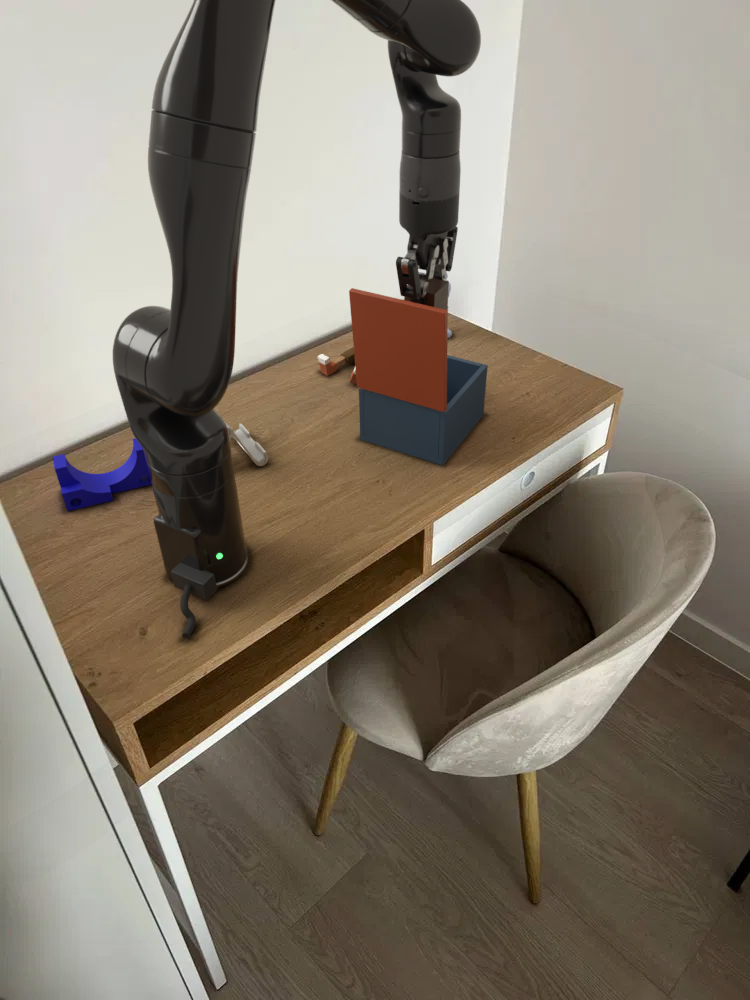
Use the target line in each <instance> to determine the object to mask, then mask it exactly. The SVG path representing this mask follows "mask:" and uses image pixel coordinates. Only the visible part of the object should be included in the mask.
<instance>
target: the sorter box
mask: <svg viewBox="0 0 750 1000" xmlns="http://www.w3.org/2000/svg"><path fill="white" fill-rule="evenodd" d="M488 367H489V365H488V364H485V363H480V362H477V361H473V360H470V359H465V358H461V357H457V356H452V355H449V354H447V410H446V411H445V412H442V411H439V410H435V409H432V408H428V407H425V406H421V405H418V404H414V403H411V402H407V401H404V400H400V399H397V398H393V397H389V396H386V395H382V394H379V393H375V392H372V391H368V390H365V389H361V388H358V411H359V412H358V413H359V440H360V441H364V442H366V443H369V444H373V445H376V446H380V447H383V448H386V449H389V450H392V451H395V452H399V453H402V454H405V455H408V456H412V457H415V458H418V459H421V460H425V461H427V462H431V463H434V464H437V465H440V466H444V465H445V464H446V463H447V461H449V459H450V457H451V456H452V455H453V454H454V452H455V451H456V450H457V449H458V447H459V446H460V445H461V443H463V441H464V440H465V439H466V438H467V436H468V435H469V434H470V433H471V431H472V430H473V429H474V427H476V425H477V424H478V423H479V422H480V421H481V419H482V418H483V416H484V412H485V403H486V401H485V400H486V390H487V389H486V388H487V379H488Z"/></svg>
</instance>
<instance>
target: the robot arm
mask: <svg viewBox="0 0 750 1000" xmlns="http://www.w3.org/2000/svg"><path fill="white" fill-rule="evenodd" d="M276 1H277V0H193V1H192V4H191V7H190V8H189V11H188V13H187V15H186V17H185V19H184V21H183V23H182V25H181V27H180V29H179V31H178V33H177V34H176V36H175V39H174V41H173V42H172V44H171V47H170V48H169V50H168V53H167V55H166V57H165V58H164V60H163V63H162V66H161V68H160V70H159V73H158V76H157V78H156V83H155V85H154V90H153V95H152V96H153V97H152V102H151V109H152V110H151V111H150V123H149V134H148V135H149V136H148V137H149V138H148V147H147V172H148V179H149V183H150V185H149V186H150V189H151V193H152V197H153V201H154V205H155V208H156V211H157V215H158V218H159V222H160V225H161V228H162V232H163V235H164V238H165V242H166V246H167V250H168V254H169V260H170V265H171V277H172V278H171V279H172V280H171V281H172V282H171V298H170V308H167V307H164V306H161V305H146V306H142V307H140V308H137V309H136V310H134V311H132V312H131V313H129V314H128V315H127V316H126V317H125V318H124V319H123V320H122V322H121V323H120V325H119V327H118V329H117V330H116V333H115V336H114V339H113V345H112V366H113V372H114V378H115V381H116V385H117V387H118V392H119V394H120V398H121V401H122V405H123V409H124V412H125V415H126V418H127V421H128V422H127V423H128V425H129V427H130V430H131V433H132V435H133V437H134V439H135V438H136V440H137V441H138V443H139V444H140V445H141V447H142V448H143V450H144V453H145V457H146V461H147V466H148V470H149V474H150V478H151V483H152V484H151V486H152V491H153V495H154V499H155V503H156V508H157V513H158V514H157V515H156V516H155V517H154V518H153V526H154V528H155V533H156V538H157V542H158V546H159V550H160V553H161V558H162V562H163V565H164V569H165V574H166V577H167V579H169V580H172V581H173V584H174V588H176V589H179V590H181V591H182V593H181V597H180V602H179V603H180V604H179V606H180V611H181V613H182V615H183V616H184V617H185V618H186V620H187V623H186V626H185V628H184V629H183V632H182V634H181V636H182V638H183V639H190V638H191V635H192V634H193V632H194V630H195V627H196V617H195V614H194V613H193V612H192V610H191V609H190V607H189V600H190V596H191V595H192V596H195V597H197V598H199V599H202V600H204V601H208V600H209V599H210V598H211V597H212V596H213V595H214V594H215V593H216V592H217V591H218V589H219V588H222V587H224V586H227V585H230V584H232V583H233V582H234V581H236V580H237V579H238V578H240V577H241V576H242V574H244V572H245V570H246V569H247V568H248V563H249V552H248V549H247V546H246V538H245V531H244V525H243V520H242V514H241V513H242V512H241V507H240V500H239V495H238V494H239V493H238V487H237V482H236V476H235V467H234V461H233V455H232V449H231V442H230V441H231V440H230V439H229V434H228V429H227V426H226V424H225V422H226V421H225V420H224V419H223V417H222V416H221V415H220V414H219V413H218V412H217V410H216V409H215V408H216V407H217V406H218V405H219V404H220V403H221V401H222V399H223V397H225V394H226V392H227V390H228V388H229V384H230V381H231V379H232V375H233V369H234V364H235V363H234V362H235V351H236V349H235V348H236V327H237V326H236V325H237V297H238V295H237V294H238V276H239V266H240V254H241V247H242V237H243V228H244V218H245V211H246V201H247V197H248V190H249V184H250V178H251V174H252V173H251V172H252V167H253V160H254V159H253V158H254V151H255V145H256V137H257V134H256V132H257V131H258V130H257V129H258V121H259V120H258V119H259V107H260V100H261V99H260V97H261V91H262V85H263V80H264V71H265V66H266V61H267V53H268V49H269V41H270V34H271V27H272V21H273V16H274V9H275V5H276ZM330 1H331V2H332V3H333V4H335V5H336V6H337V7H339V8H340V9H341V10H342V11H343V12H344V13H346V14H347V15H348V16H349V17H351V18H352V19H354V21H356V22H357V23H359V24H360V25H361V26H362V27H363V28H365V29H366V30H367V31H369V32H370V33H372V34H373V35H375V36H376V37H378V38H381V39H383V40H386V41H387V53H388V61H389V65H390V70H391V73H392V78H393V83H394V88H395V92H396V96H397V100H398V104H399V107H400V112H401V154H400V155H401V156H400V163H399V173H398V174H399V177H398V178H399V181H398V182H399V185H398V186H399V187H398V188H399V193H398V195H399V197H398V200H399V201H398V202H399V203H398V204H399V205H398V213H399V214H398V222H399V225H400V227H401V228H402V229H404V230H405V231H406V232H407V233H408V235H409V236H408V243H407V247H406V252H407V253H406V254H405V255H404V256H397V258H396V260H395V267H396V274H397V281H398V288H399V294H400V296H401V297H403V298H404V297H410V302H414V303H418V304H423V305H427V296H426V295H427V289H428V283H429V281H430V280H432V279H433V278H436V279H440V280H445V279H446V272H451V271H452V268H453V262H454V257H455V250H456V243H457V235H458V231H459V230H458V229H459V228H458V226H457V225H458V224H459V211H460V210H459V208H460V192H461V189H460V188H461V171H462V167H461V156H460V155H461V154H460V153H461V151H460V149H461V134H462V133H461V130H462V128H461V127H462V109H461V107H462V106H461V104H460V102H459V101H458V100H457V99H456V97H454V96H452V95H450V94H449V93H448V92H446V91H445V90H443V89H442V87H441V86H440V85H439V81H438V78H437V76H439V77H440V76H441V77H447V78H450V77H457V76H460V75H463V74H464V73H465V72H467V71H468V70H470V68H471V67H473V65H474V64H475V62H476V61H477V59H478V56H479V54H480V49H481V45H482V36H481V35H482V34H481V28H480V24H479V21H478V19H477V17H476V15H475V13H474V12H473V11H472V9H471V8H470V7H469V6H468V5H467V4H466V3H465V2H464V1H463V0H330ZM419 270H423V271H425V272H421V271H419ZM419 279H420V280H421V281H422V284H421V288H420V280H419ZM407 285H408V286H407ZM214 409H215V410H214ZM224 421H225V422H224Z"/></svg>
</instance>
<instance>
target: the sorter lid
mask: <svg viewBox="0 0 750 1000" xmlns="http://www.w3.org/2000/svg"><path fill="white" fill-rule="evenodd" d="M348 295H349V297H348V298H349V307H350V308H349V309H350V317H351V318H350V319H351V328H352V329H351V331H352V342H353V343H352V344H353V347H354V355H355V361H354V368H355V367H356V379H357V384H356V387H357V388H358V389H359V388H361V389H365V390H368V391H372V392H375V393H379V394H382V395H386V396H389V397H393V398H397V399H400V400H404V401H407V402H411V403H414V404H418V405H421V406H425V407H428V408H432V409H435V410H439V411H442V412H445V411H446V410H447V355H448V338H447V335H448V329H449V327H448V325H449V324H448V322H449V319H448V316H449V313H448V312H449V309H448V310H444V309H440V308H436V307H431V306H427V305H423V304H418V303H414V302H410V301H405V300H404V299H400V298H396V297H392V296H388V295H383V294H379V293H375V292H371V291H367V290H362V289H358V288H353V287H351V288H350V289H349V290H348Z"/></svg>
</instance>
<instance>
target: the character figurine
mask: <svg viewBox="0 0 750 1000" xmlns="http://www.w3.org/2000/svg"><path fill="white" fill-rule="evenodd" d="M316 357H317V361H318V365H319V369H320V373H321V374H323V375H325V376H326V377H329V376H330V375H332V374H333V373H335V372H337V371H338V368H339V367H342V366H344V365H350V364H352V363H354V362H355V355H354V346H352V347H351V348H349V349H347V350H345V351H344V352H342V353H341V354H340V356H338V357H337V358H335V360H334V361H332V360H330V359H331V358H330V357H329V356H327V355H326V354H324V353H320V354H319V355H317V356H316ZM349 383H352V384H354V385H357V379H356V367H355V366H354V368H353V370H352V372H351V374H350V379H349Z"/></svg>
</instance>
